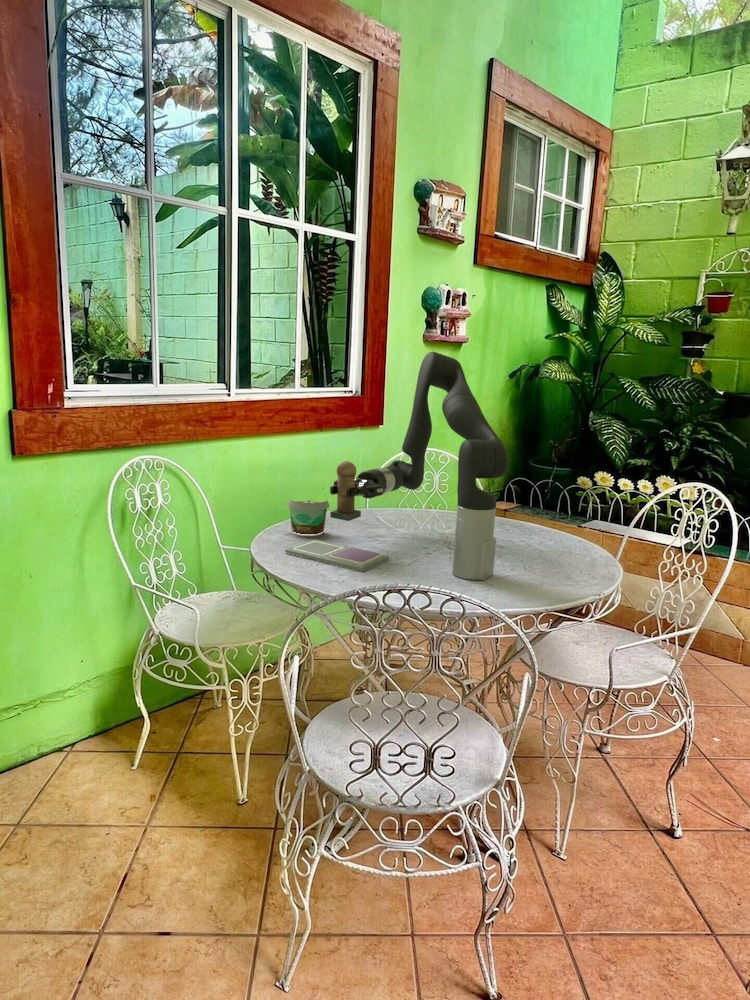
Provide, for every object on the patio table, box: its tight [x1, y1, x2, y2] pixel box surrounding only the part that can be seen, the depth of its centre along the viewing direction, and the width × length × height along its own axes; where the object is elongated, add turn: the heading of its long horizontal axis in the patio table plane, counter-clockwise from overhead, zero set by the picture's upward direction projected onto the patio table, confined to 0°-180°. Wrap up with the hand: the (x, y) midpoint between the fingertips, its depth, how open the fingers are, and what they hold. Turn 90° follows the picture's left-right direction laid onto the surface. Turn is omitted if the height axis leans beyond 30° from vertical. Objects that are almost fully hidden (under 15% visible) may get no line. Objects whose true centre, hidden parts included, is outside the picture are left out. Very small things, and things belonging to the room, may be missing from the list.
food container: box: [286, 498, 330, 534], centre depth 187 cm, size 12×6×10 cm, turn 92°
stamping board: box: [284, 539, 390, 572], centre depth 168 cm, size 24×13×2 cm, turn 58°
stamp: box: [329, 460, 362, 522], centre depth 164 cm, size 6×6×14 cm
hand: (339, 491), depth 162 cm, fingers closed on stamp, 4 cm apart
